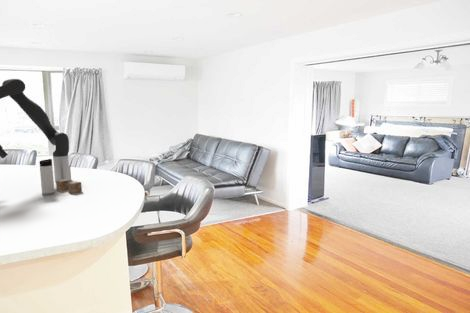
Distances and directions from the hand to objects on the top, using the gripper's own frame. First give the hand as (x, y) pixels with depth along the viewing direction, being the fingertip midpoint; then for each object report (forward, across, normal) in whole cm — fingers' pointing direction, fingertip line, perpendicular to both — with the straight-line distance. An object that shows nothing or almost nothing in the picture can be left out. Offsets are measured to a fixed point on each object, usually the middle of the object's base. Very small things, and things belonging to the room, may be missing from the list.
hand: (5, 156), depth 183 cm
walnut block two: (+34, -4, -10) cm, 35 cm away
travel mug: (+30, -9, -2) cm, 31 cm away
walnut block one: (+38, -15, -12) cm, 42 cm away
